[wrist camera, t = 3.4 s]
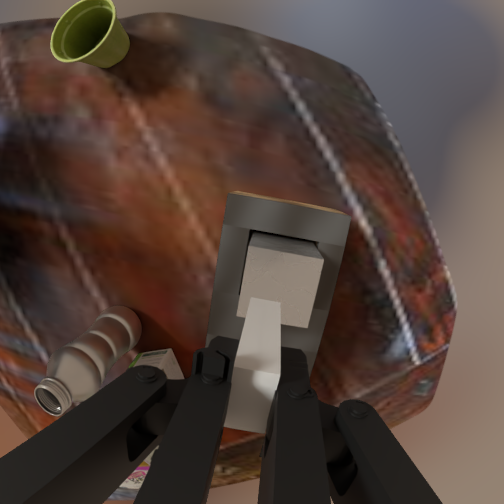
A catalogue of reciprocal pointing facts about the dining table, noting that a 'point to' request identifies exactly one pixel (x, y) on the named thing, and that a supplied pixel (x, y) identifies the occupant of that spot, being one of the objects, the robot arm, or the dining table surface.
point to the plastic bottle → (87, 360)
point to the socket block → (285, 223)
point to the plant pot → (90, 35)
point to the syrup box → (160, 362)
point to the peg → (282, 276)
